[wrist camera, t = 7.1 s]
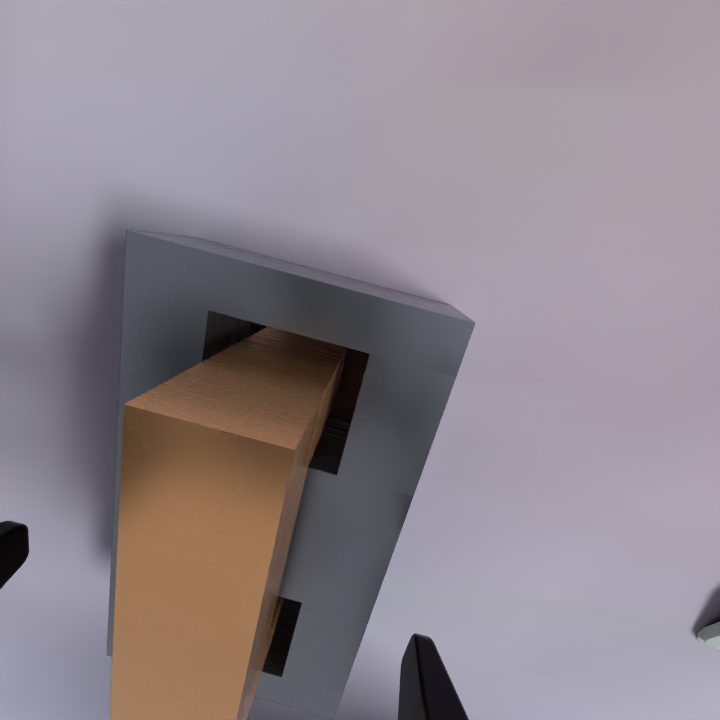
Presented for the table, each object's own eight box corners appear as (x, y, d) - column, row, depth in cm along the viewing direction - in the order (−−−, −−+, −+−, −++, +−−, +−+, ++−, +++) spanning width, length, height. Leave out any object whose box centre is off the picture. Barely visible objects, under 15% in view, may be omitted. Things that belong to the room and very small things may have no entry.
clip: (292, 574, 14) (212, 828, 8) (233, 558, 14) (106, 797, 8) (349, 342, 11) (294, 450, 5) (274, 323, 11) (123, 404, 5)
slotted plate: (344, 627, 14) (333, 718, 12) (162, 577, 15) (106, 655, 12) (452, 305, 10) (475, 323, 8) (198, 238, 10) (126, 229, 8)
